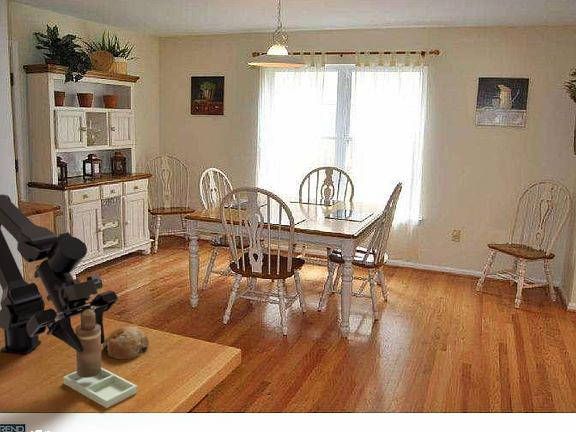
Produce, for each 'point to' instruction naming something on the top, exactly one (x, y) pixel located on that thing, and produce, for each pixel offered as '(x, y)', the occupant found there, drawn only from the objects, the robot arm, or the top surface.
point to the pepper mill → (89, 346)
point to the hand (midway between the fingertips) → (92, 347)
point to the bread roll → (126, 343)
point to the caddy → (102, 387)
